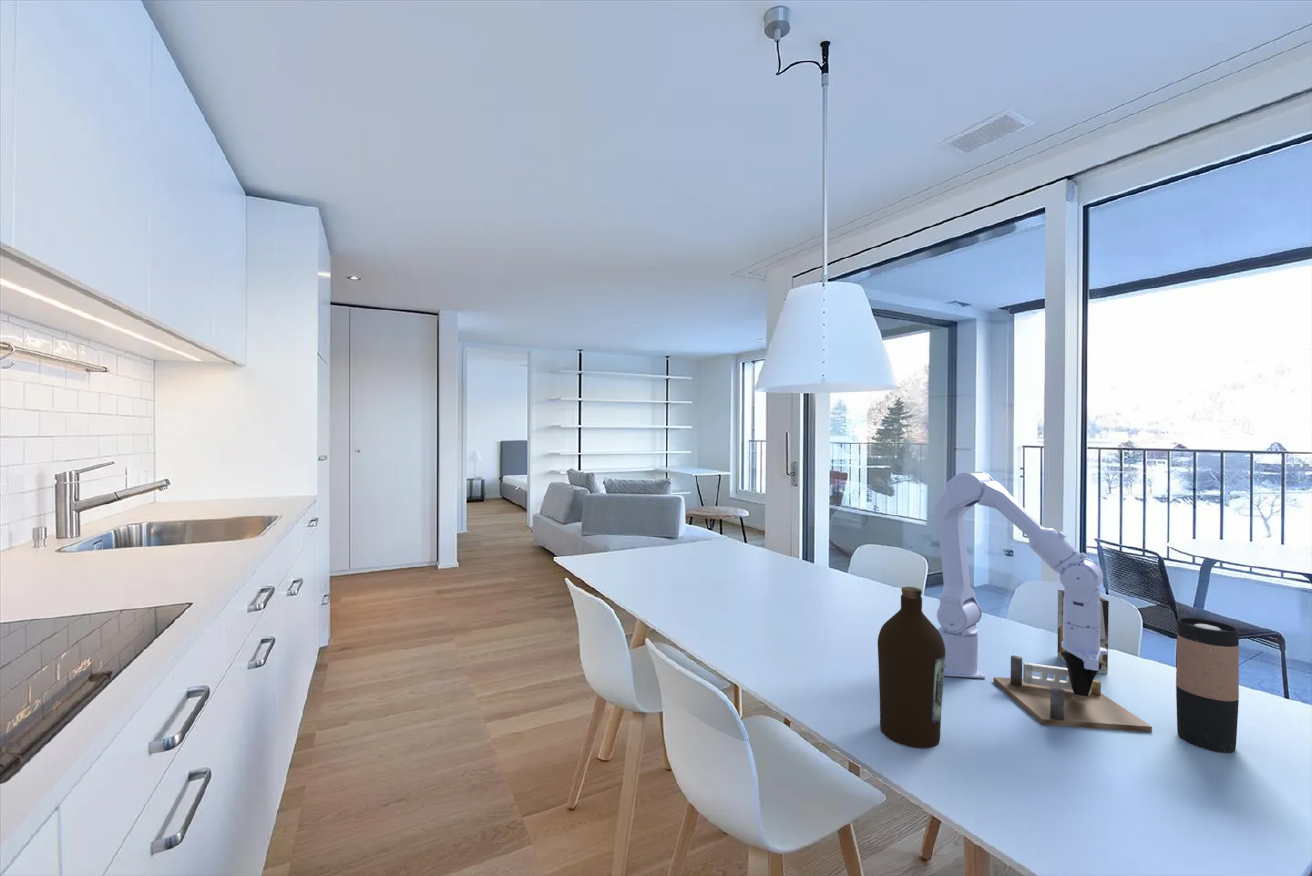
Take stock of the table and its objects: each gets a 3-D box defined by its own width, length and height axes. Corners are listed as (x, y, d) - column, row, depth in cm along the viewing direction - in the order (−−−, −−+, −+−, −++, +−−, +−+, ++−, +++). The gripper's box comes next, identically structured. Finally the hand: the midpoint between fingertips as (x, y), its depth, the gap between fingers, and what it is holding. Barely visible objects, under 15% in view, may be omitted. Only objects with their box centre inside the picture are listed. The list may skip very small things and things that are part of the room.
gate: (1024, 683, 114) (1025, 664, 114) (1023, 680, 115) (1023, 662, 115) (1091, 692, 110) (1091, 673, 110) (1089, 690, 111) (1089, 671, 111)
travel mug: (1163, 730, 99) (1164, 617, 99) (1202, 729, 100) (1204, 617, 100) (1209, 755, 91) (1210, 632, 91) (1251, 753, 92) (1253, 632, 92)
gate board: (1042, 724, 100) (1042, 688, 100) (993, 681, 118) (993, 651, 118) (1151, 732, 98) (1152, 695, 98) (1085, 687, 116) (1085, 656, 116)
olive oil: (872, 740, 94) (874, 591, 94) (880, 713, 103) (882, 578, 104) (943, 758, 89) (945, 601, 89) (944, 728, 98) (946, 586, 99)
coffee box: (1109, 674, 123) (1110, 601, 123) (1076, 671, 124) (1077, 599, 125) (1086, 658, 132) (1087, 590, 132) (1055, 656, 133) (1056, 588, 133)
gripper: (1120, 638, 99) (1119, 715, 99) (1095, 616, 113) (1094, 683, 113) (1071, 632, 102) (1070, 706, 102) (1053, 611, 115) (1052, 676, 115)
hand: (1080, 694), depth 108 cm, fingers closed
